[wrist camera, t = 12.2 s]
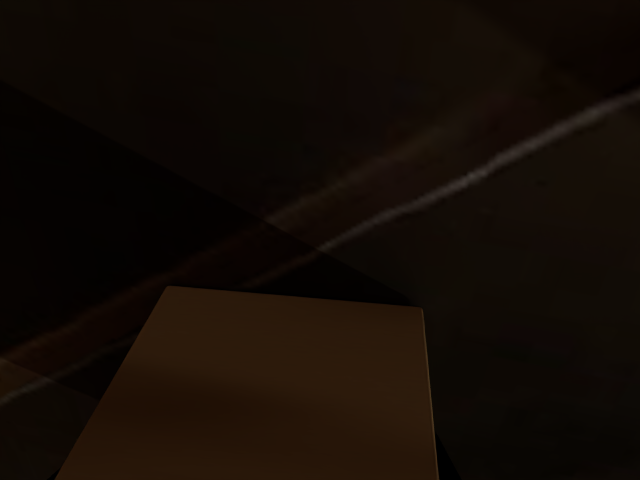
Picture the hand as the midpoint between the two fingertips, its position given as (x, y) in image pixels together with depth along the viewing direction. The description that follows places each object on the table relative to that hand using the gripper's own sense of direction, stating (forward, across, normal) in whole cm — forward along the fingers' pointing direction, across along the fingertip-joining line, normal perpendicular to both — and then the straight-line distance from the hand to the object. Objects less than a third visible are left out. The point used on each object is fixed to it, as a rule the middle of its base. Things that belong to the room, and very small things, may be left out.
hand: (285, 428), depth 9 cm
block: (+1, 0, 0) cm, 1 cm away
